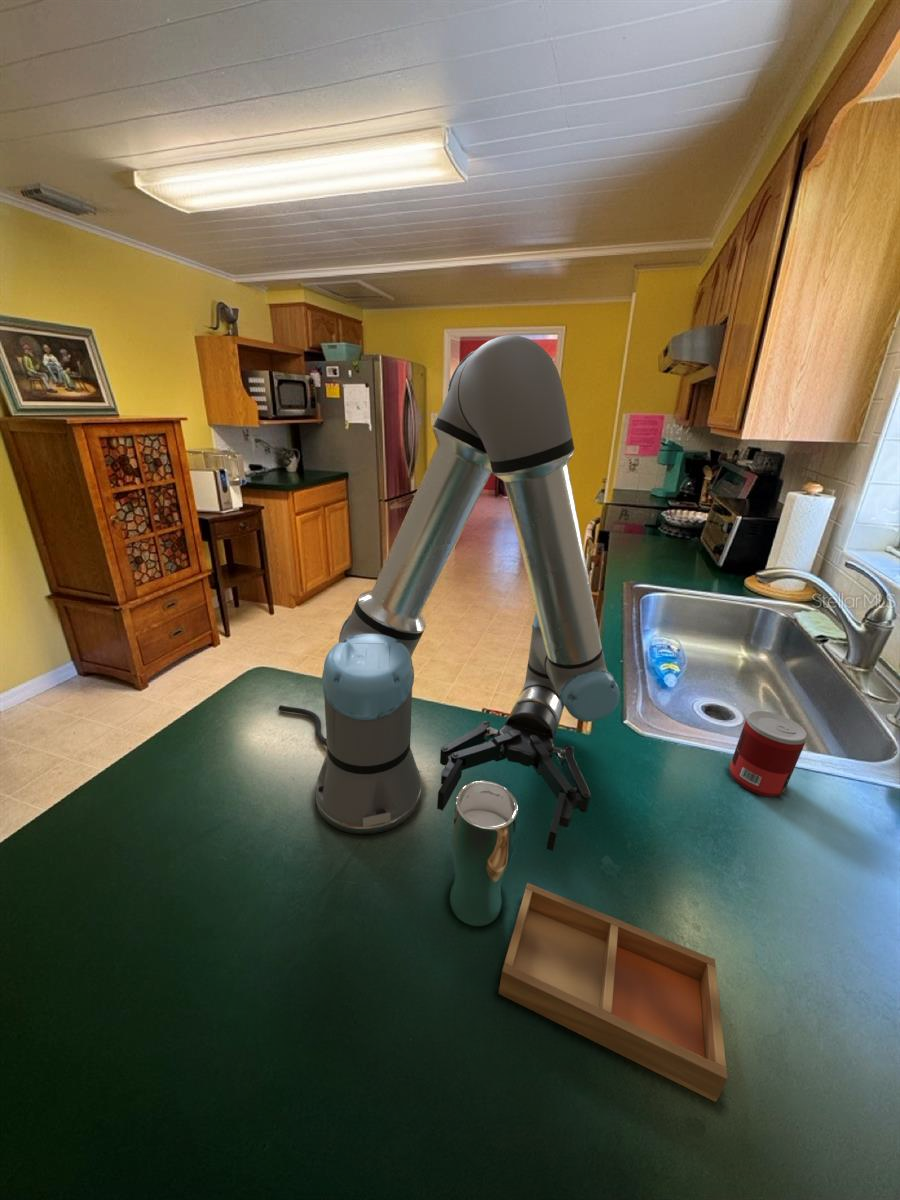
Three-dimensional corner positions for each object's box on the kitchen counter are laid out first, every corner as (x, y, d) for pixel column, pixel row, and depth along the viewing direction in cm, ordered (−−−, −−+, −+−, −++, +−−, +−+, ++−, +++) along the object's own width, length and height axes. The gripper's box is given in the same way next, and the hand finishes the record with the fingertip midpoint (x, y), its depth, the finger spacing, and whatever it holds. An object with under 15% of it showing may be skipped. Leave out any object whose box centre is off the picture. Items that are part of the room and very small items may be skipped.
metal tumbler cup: (487, 944, 51) (502, 842, 45) (434, 908, 54) (441, 809, 49) (514, 893, 56) (530, 797, 51) (464, 863, 60) (474, 770, 54)
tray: (716, 1102, 40) (728, 1079, 39) (498, 993, 47) (501, 971, 45) (705, 981, 49) (715, 958, 47) (523, 904, 55) (527, 882, 54)
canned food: (793, 802, 73) (818, 745, 69) (737, 792, 74) (758, 735, 70) (772, 768, 80) (793, 715, 76) (721, 760, 81) (740, 706, 77)
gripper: (611, 765, 71) (597, 884, 52) (457, 719, 79) (398, 809, 61) (621, 723, 68) (609, 834, 50) (461, 681, 76) (399, 762, 58)
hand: (493, 820), depth 55 cm, fingers open, 13 cm apart
